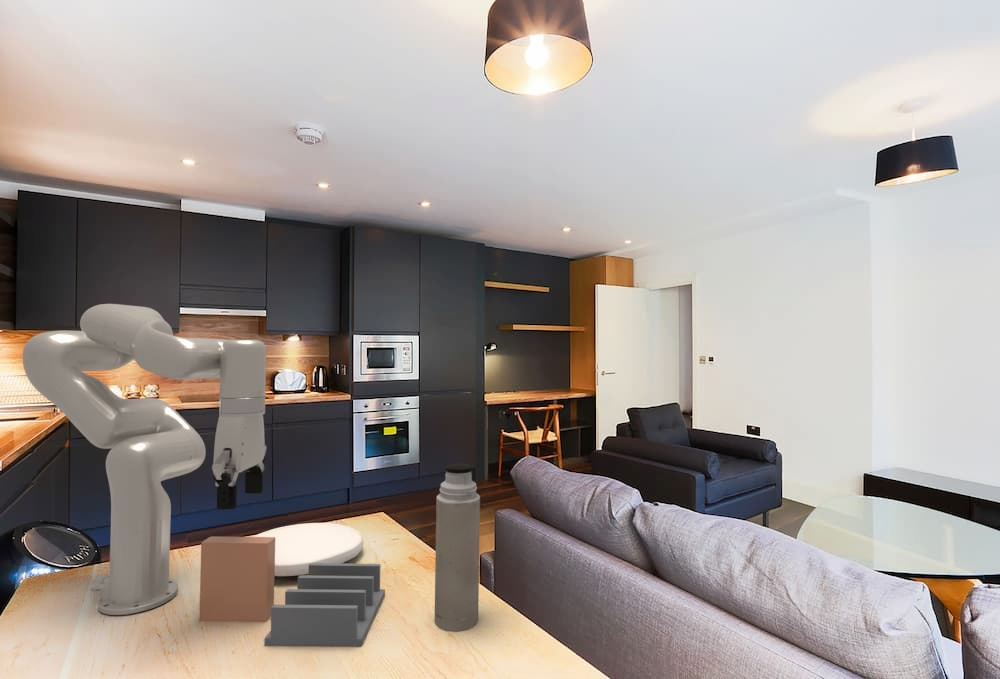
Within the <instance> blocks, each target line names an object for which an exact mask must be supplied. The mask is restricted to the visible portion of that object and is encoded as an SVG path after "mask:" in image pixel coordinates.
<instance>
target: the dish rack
mask: <svg viewBox="0 0 1000 679" xmlns="http://www.w3.org/2000/svg"><path fill="white" fill-rule="evenodd" d="M381 567H382V566H381V563H341V564H338V563H310V564H309V570H308V574H304V575H298V576H297V586H296V587H297V588H287V589H286V590H285V592H284V594H285V595H284V604H274V605H273V606H272V607H271V617H270V631H269V632H268V633H267V634H266V636H265V637H264V643H263V644H264V645H263V646H270V647H271V646H275V647H276V646H278V647H279V646H280V647H282V646H283V647H284V646H286V647H287V646H288V647H292V646H294V647H296V646H297V647H363V644H364V642H365V640H366V637H367V635H368V633H369V631H370V629H371V626H372V625H373V621H374V620H375V618H376V616H377V614H378V611H379V610H380V607H381V605H382V603H383V600H384V598H385V595H386V589H384V588H383V589H381Z"/></svg>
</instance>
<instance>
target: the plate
mask: <svg viewBox="0 0 1000 679" xmlns="http://www.w3.org/2000/svg"><path fill="white" fill-rule="evenodd" d="M252 537H275V577H294V576H295V577H296V576H297V577H298V576H300V575H308V570H309V564H310V563H338V564H345V562H347V561H350V560H352V559H354V558H355V557H356V556H358V555H359V554H360V552H361V551H362V549H363V546H364V539H363V536H362V533H361V532H360V531H358V530H356V529H354V528H352V526H348V525H346V524H345V525H344V524H339V523H333V522H331V523H330V522H309V523H306V522H305V523H298V524H289V525H285V526H281V527H275V528H273V529H270V530H266V531H263V532H261V533H260V532H259V533H258V534H256V535H254V536H253V535H252Z"/></svg>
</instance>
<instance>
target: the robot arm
mask: <svg viewBox="0 0 1000 679" xmlns="http://www.w3.org/2000/svg"><path fill="white" fill-rule="evenodd" d="M79 326H80V329H81V330H63V329H62V330H52V331H45V332H41V333H38V334H36V335H33V336H32V337H31V338H30V339H28V340H27V341H26V343H25V344H24V347H23V350H22V364H23V365H22V366H23V370H24V373H25V374H26V377H27V379H28V380H29V382H30V383H31V385H32V387H34V388H35V390H36V391H37V392H38V393H40V395H42V397H44V398H46V399H47V400H48V401H49V402H51V403H52V404H53V405H55V406H56V408H58V409H59V410H60V411H61V412H62V413H63V414H64V415H65V417H66V418H67V419H68V420H69V422H70V423H72V425H74V427H75V428H76V429H77V430H78V431H79V432H80V433H81V435H83V436H84V437H85V438H86V440H87V441H89V443H91V444H92V445H93V446H95V447H96V448H99V449H105V450H106V449H110V450H109V452H108V453H107V456H106V459H105V470H106V476H107V480H108V487H109V492H110V543H109V544H110V546H109V547H110V548H109V575H96V577H95V578H94V579H93V583H92V584H91V585H90V589H89V591H91V592H99V591H102V597H100V599H99V600H98V603H97V610H98V611H99V612H100V613H102V614H104V615H108V616H109V615H111V616H123V615H124V616H125V615H131V614H132V615H133V614H137V613H142V612H144V611H149V610H151V609H155V608H157V607H159V606H162V605H163V604H166V603H167V602H169V601H171V600H172V599H173V598H175V596H177V594H178V590H179V584H178V583H177V582H176V581H174V580H173V579H170V553H171V551H170V550H171V548H170V547H171V521H172V520H171V517H172V516H171V515H172V514H171V513H172V510H171V509H172V505H171V499H170V497H169V494H168V493H167V491H166V490H165V489H164V487H163V486H162V483H161V482H162V481H166V480H169V479H174V478H176V477H180V476H183V475H187V474H189V473H192V472H194V471H195V470H197V469H198V468H200V467H201V465H202V464H203V463H204V462H205V459H206V453H207V452H206V445H205V443H204V440H203V439H202V437H201V436H200V434H199V433H198V432H197V431H196V430H195V428H194V427H193V426H191V425H190V424H189V422H187V421H186V419H184V417H183V416H182V415H180V413H179V412H177V411H176V409H175V408H174V407H172V406H171V404H169V403H167V401H164V400H162V399H159V398H156V397H155V398H154V397H140V398H122V397H120V396H118V395H116V393H114V392H113V391H112V389H110V387H108V386H107V384H105V383H104V382H103V381H101V380H100V379H98V378H96V377H94V376H92V375H90V374H87V373H85V372H90V371H92V372H95V371H97V372H98V371H113V370H117V369H120V368H122V367H124V366H126V365H128V364H129V363H131V362H133V361H135V363H136V364H137V366H139V367H140V368H141V369H143V370H145V371H147V372H149V373H153V374H155V375H158V376H161V377H163V378H167V379H172V380H177V381H188V380H189V381H191V380H202V379H203V380H204V379H205V380H207V379H219V407H218V408H219V413H218V414H219V415H218V416H219V417H218V420H217V425H216V429H215V430H216V431H215V439H214V445H213V447H214V448H213V463H212V466H211V470H212V473H213V479H214V481H215V482H214V483H215V487H216V509H217V510H234V509H236V508H237V505H238V484H236V482H237V478H238V476H239V473H243V472H244V471H246V472H245V474H244V475H245V476H244V477H245V478H244V492H245V494H262V493H263V491H264V470H265V465H264V463H265V461H266V458H267V457H266V452H267V445H266V443H265V441H266V440H265V424H264V422H265V421H264V415H265V414H266V384H267V383H266V381H267V380H266V379H267V377H266V374H267V373H266V372H267V370H266V369H267V365H266V364H267V347H266V344H265V342H264V341H261V340H258V339H225V338H224V339H223V338H206V337H205V338H204V337H182V336H176V335H174V333H173V329H172V326H171V325H170V324H169V323H168V322H167V321H166V320H165V319H164V317H163V316H162V315H161V314H160V313H159V312H158V311H156V309H153V308H151V307H146V306H138V305H131V304H130V305H127V304H120V303H103V304H97V305H94V306H91V307H90V308H88V309H87V310H85V311H84V312H83V314H82V316H81V318H80V321H79ZM229 475H230V476H229Z"/></svg>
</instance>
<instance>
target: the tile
mask: <svg viewBox="0 0 1000 679" xmlns="http://www.w3.org/2000/svg"><path fill="white" fill-rule="evenodd" d="M275 577H276V576H275V537H253V536H209V537H208V538H206V539H205V540H203V541H201V544H200V577H199V579H200V581H199V582H200V583H199V613H198V614H199V616H198V618H199V620H198V621H199V622H227V623H228V622H230V623H231V622H232V623H233V622H234V623H236V622H237V623H267V622H268V621H269V620H270V619H271V607H272V606H273V605H275Z"/></svg>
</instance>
